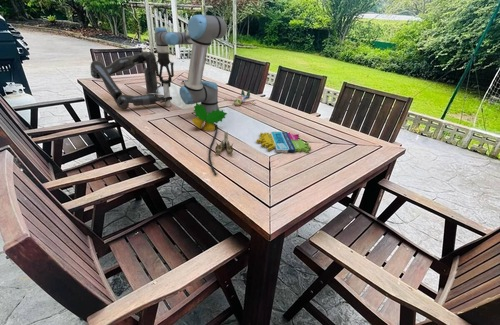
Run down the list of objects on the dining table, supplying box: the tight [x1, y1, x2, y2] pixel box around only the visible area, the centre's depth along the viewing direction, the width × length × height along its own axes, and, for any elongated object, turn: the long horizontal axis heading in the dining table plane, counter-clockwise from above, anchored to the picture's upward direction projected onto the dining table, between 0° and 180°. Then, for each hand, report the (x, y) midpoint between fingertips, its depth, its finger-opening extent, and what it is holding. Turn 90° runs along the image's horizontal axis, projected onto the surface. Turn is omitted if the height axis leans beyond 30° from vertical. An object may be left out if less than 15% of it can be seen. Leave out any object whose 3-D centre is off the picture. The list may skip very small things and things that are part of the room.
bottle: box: [162, 83, 172, 107], centre depth 195 cm, size 4×4×18 cm
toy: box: [223, 89, 257, 106], centre depth 219 cm, size 28×7×30 cm
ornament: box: [191, 102, 228, 132], centre depth 162 cm, size 21×8×15 cm, turn 105°
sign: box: [256, 131, 312, 154], centre depth 152 cm, size 26×2×30 cm
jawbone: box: [214, 131, 234, 156], centre depth 136 cm, size 9×15×10 cm
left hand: (170, 97), depth 198 cm, fingers closed on bottle, 4 cm apart
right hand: (166, 86), depth 192 cm, fingers closed on lid, 4 cm apart
